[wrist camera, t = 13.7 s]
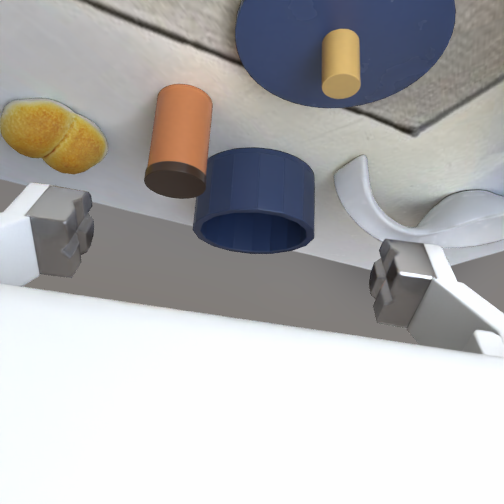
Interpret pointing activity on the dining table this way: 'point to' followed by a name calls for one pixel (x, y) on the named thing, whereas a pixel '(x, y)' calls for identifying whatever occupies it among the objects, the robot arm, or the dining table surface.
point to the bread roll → (53, 134)
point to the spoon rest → (434, 222)
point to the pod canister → (180, 142)
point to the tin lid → (341, 47)
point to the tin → (256, 202)
